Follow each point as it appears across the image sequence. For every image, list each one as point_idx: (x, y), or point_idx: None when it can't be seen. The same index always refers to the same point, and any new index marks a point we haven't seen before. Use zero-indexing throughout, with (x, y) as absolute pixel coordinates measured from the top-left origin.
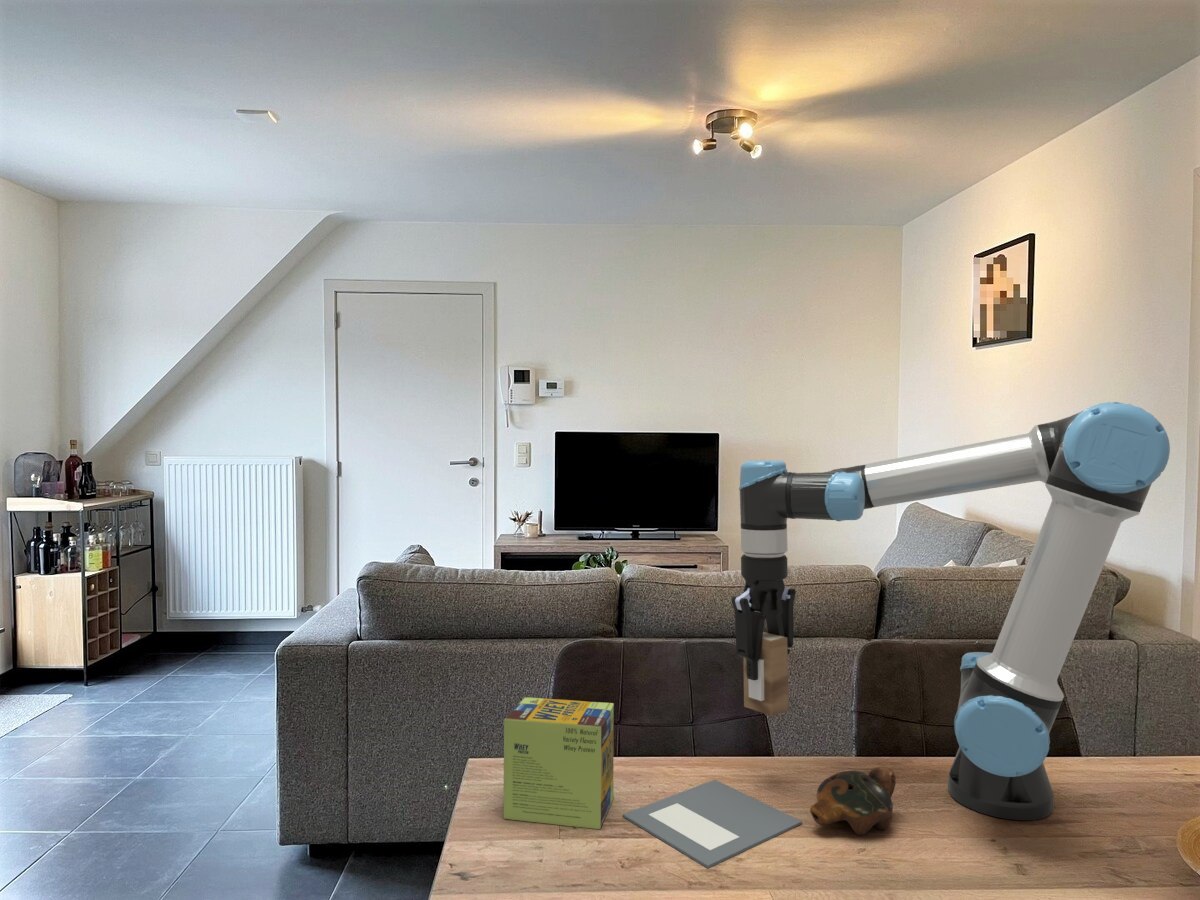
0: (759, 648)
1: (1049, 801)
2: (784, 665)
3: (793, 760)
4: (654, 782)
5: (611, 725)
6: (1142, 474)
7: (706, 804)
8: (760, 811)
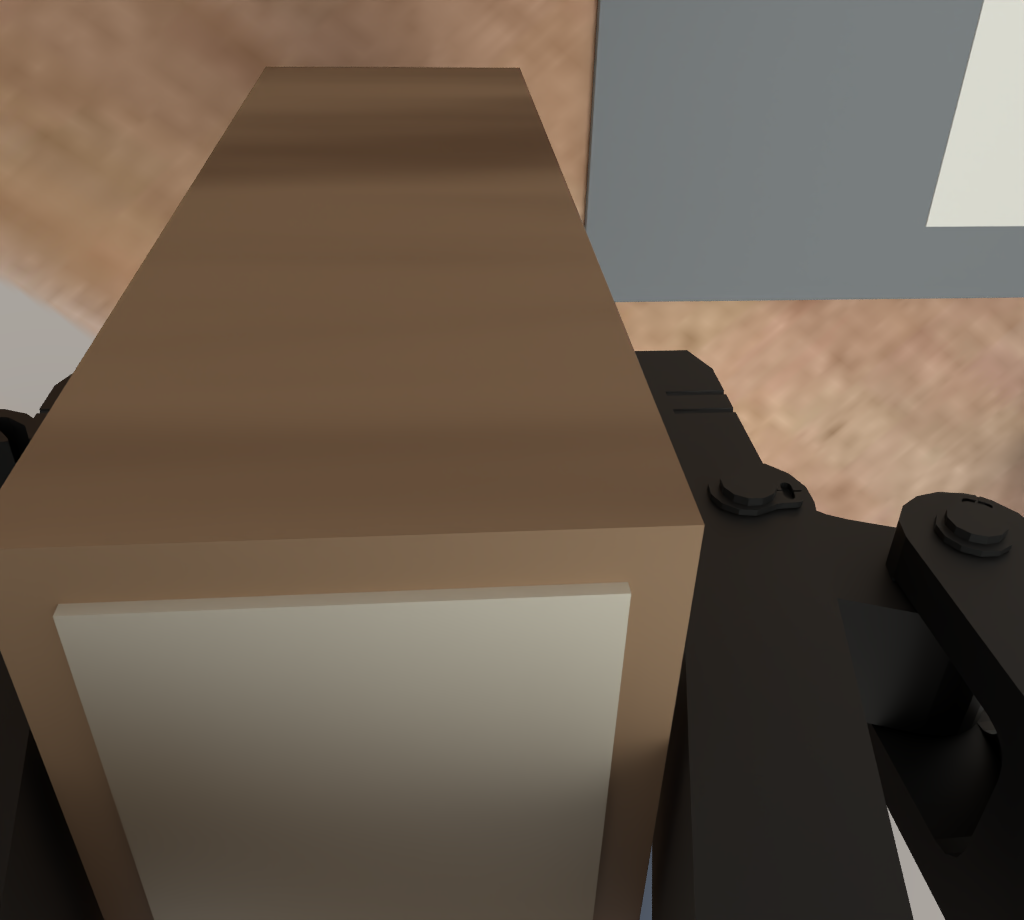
0: (738, 596)
1: None
2: (246, 241)
3: (12, 230)
4: (788, 446)
5: None
6: None
7: (840, 129)
8: None
